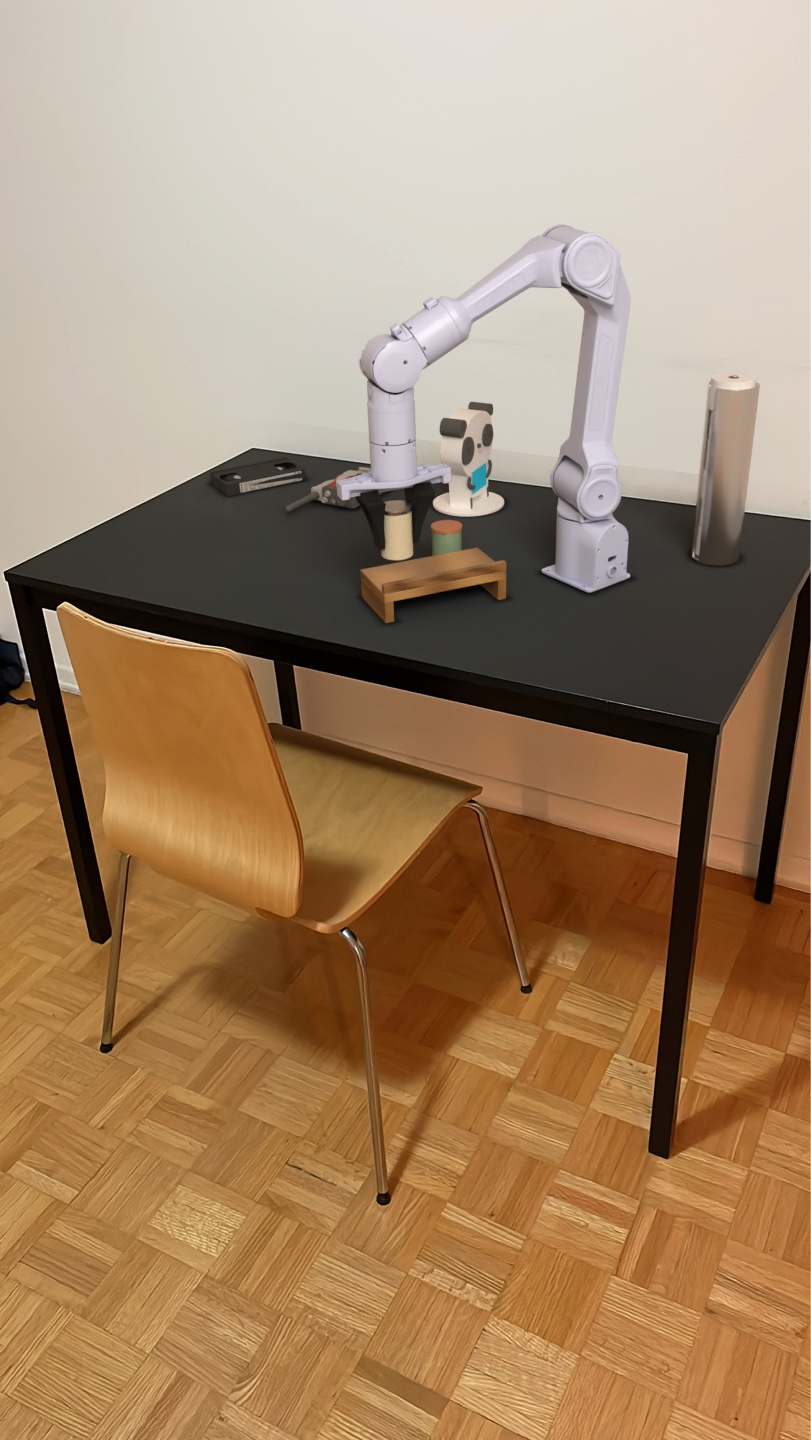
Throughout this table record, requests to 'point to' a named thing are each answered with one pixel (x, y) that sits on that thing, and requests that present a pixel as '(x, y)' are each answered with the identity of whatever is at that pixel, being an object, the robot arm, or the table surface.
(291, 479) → the vhs tape
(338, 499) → the walkie-talkie
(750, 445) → the silver metal cylinder
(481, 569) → the shelf
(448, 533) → the sage tin
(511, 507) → the table surface
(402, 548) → the cream tin
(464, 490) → the panda figurine
